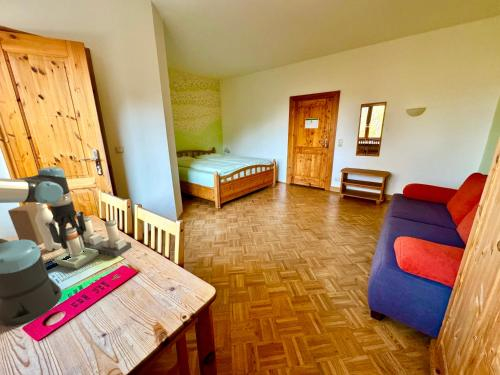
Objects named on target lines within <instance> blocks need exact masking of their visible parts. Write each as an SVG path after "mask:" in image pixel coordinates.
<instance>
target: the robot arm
mask: <svg viewBox="0 0 500 375" xmlns="http://www.w3.org/2000/svg"><path fill="white" fill-rule="evenodd" d="M2 203H3V204H11V203H14V204H15V203H16V204H17V203H19V204H20V203H26V204H30V203H42V204H46V205H49V210H50V211H51V213H52V215H53V220H52V221H51V222H49V223H46V226H47V227H48V228H49V230H50V232H51V235H52V238H53V241H54V243H58V244H60V243H61V248H62V249H63V250H64V251H65V253H66V254H70V255H71V254H73V253H72V250H71V247H70V244H69V241H66V228H68V227H67V226H68V224H69V225H70V226H71V227H75V228H76V231H77V234H78V238H79V241H80V244H81V248H84V244H83V241H82V240H84V238H83V234H84V233H83V232H84V231H86V226H85V222H84V219H83V217H84V211H81V210H77V211H76V210H75V205H74V202H73V198H72V195H71V191H70V188H69V184H68V182H67V176H66V173H65V172H64V169H63V168H62V167H58V166H51V167H44V168H39V169H38V170H37V174H36V175H32V176H26V177H25V176H24V177H21V178H4V177H2V178H1V177H0V204H2ZM75 218H76V219H75ZM55 222H57V224H58V229H59V234H58V231H57V228H56V226H55V225H56V224H55ZM41 253H42V252H41V249H40V247H39V245H37V244H36V243H35V242H33V241H31V240H19V239H15V240H6V239H4V238H0V325H2V326H4V327H5V326H6V327H12V326H14V327H15V326H19V325H22V324H25V323H27V322H30V321H33V320H34V319H36V318H39V317H40V316H42V315H44V314H45V313H47V312H48V311H49V310H51V309H52V308H54V307H55V306H56V305H57V304H58V303H59V302H60V300H61V299H62V296H63V292H62V288H61V287H60V286H59V285H58V283H56V282H55V281H53V279H51V278H50V276H49V273H48V270H47V268H46V265H45V262H44V258H43V256H42V254H41Z"/></svg>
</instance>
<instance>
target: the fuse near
mask: <svg viewBox="0 0 500 375" xmlns="http://www.w3.org/2000/svg"><path fill="white" fill-rule="evenodd" d="M104 226H105V229H106V234H107V237H108V238H109V242H110V248H112V249H114V248H116V246H115V242H117V241H119V240H120V239H121V238H120V233H119V230H118V224H117V220H116V219H110V220H107V221H105V222H104Z"/></svg>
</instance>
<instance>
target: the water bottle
mask: <svg viewBox="0 0 500 375" xmlns="http://www.w3.org/2000/svg"><path fill="white" fill-rule="evenodd" d="M36 205H37V209H38V212H37V215H36V218H35V221H36V223H37V226H38V229H39V231H40V233H41V235H42V237H43V241H44V242H43V246H44V248H45V249H46V250H47V251H49V252H52V251H53V250H57V251H58V250H59V249H61V248H62V246H61V243H60V244H58V243H54V241H53V238H52V235H51V232H50V230H49V228H48V227H47V226H46V223H49V222H51V221H52V220H53V215H52V213H51V210H50V209H49V208H48V205H47V204H42V203H36ZM55 224H56V225H55V226H56V228H57V231H58V234H59V227H58V223H57V222H55Z"/></svg>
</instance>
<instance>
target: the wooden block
mask: <svg viewBox="0 0 500 375" xmlns="http://www.w3.org/2000/svg"><path fill="white" fill-rule="evenodd" d="M7 212H8V215H9V217H10V219H11V222H12V226H13V227H14V231H15V232H16V235H17V237H18V241H19V240H31V241H33V242H35V243H36V244H37V246H39V245H41V244H44V241H43V237H42V235H41V233H40V231H39V229H38V226H37V223H36V221H35V218H36V215H37V212H38V209H37V205H36V203H26V204H23V205H20V206H17V207H14V208H11V209H8V210H7Z"/></svg>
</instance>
